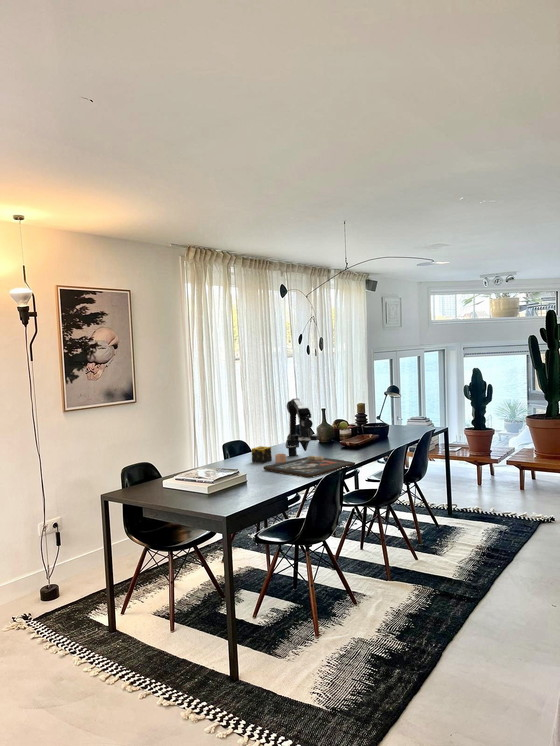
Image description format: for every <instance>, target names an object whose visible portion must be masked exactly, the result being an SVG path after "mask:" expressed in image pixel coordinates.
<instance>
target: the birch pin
mask: <svg viewBox="0 0 560 746" xmlns="http://www.w3.org/2000/svg"><path fill="white" fill-rule="evenodd" d="M307 457H308V461H323V460H324V458H325V457H324V456H323V455H307Z"/></svg>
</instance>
